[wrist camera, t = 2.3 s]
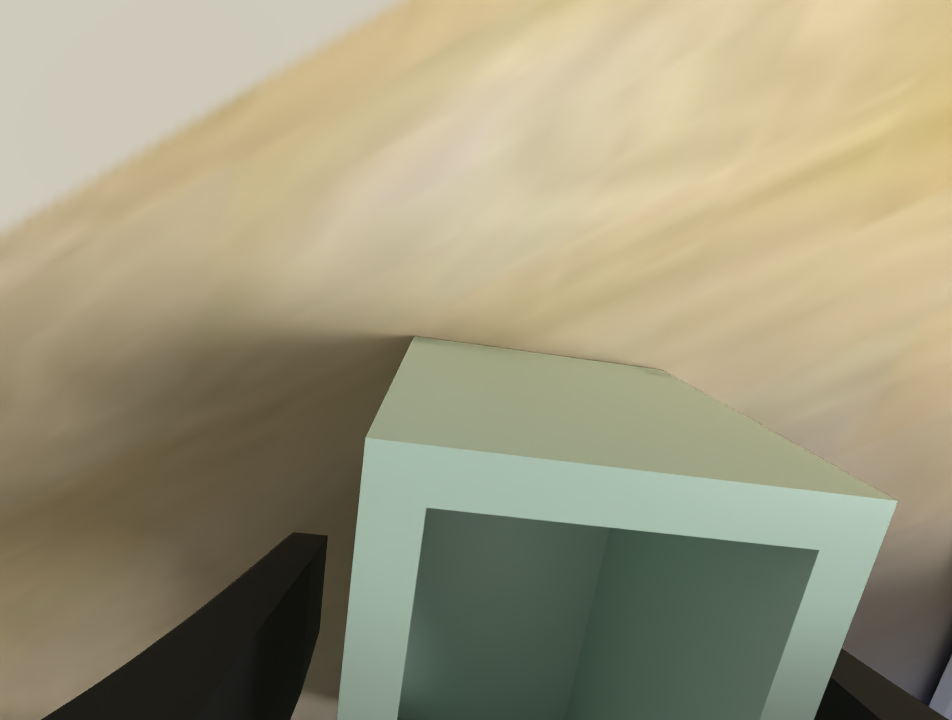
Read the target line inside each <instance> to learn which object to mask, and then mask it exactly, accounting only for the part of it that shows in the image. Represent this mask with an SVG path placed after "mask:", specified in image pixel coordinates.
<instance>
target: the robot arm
mask: <svg viewBox="0 0 952 720" xmlns="http://www.w3.org/2000/svg"><path fill="white" fill-rule="evenodd" d="M327 537H328V536H324V535H314V534H305V533H295V532H294V533H292V534H291V535H289V536H288V537H287V538H285V539H284V540H283V541H282V542H281V543H279V544H278V545H277V546H276V547H275V548H274V549H272V550H271V551H270V552H269V553H268V554H267V555H265V556H264V557H263V558H262V559H261V560H259V561H258V562H257V563H256V564H255V565H254V566H252V567H251V568H250V569H249V570H248V571H246V572H245V573H244V574H243V575H242V576H240V577H239V578H238V579H237V580H236V581H234V582H233V583H232V584H231V585H229V586H228V587H227V588H226V589H224V590H223V591H222V592H221V593H219V594H218V595H217V596H216V597H214V598H213V599H212V600H211V601H209V602H208V603H207V604H206V605H204V606H203V607H202V608H201V609H199V610H198V611H197V612H196V613H194V614H193V615H192V616H190V617H189V618H188V619H186V620H185V621H184V622H182V623H181V624H180V625H178V626H177V627H176V628H174V629H173V630H172V631H170V632H169V633H167V634H166V635H165V636H163V637H162V638H161V639H159V640H158V641H157V642H155V643H154V644H152V645H151V646H150V647H148V648H147V649H146V650H144V651H143V652H142V653H140V654H139V655H137V656H136V657H135V658H133V659H132V660H131V661H129V662H128V663H126V664H125V665H123V666H122V667H121V668H119V669H118V670H116V671H115V672H113V673H112V674H110V675H109V676H107V677H106V678H105V679H103V680H102V681H100V682H99V683H97V684H96V685H94V686H93V687H91V688H90V689H88V690H87V691H85V692H84V693H82V694H81V695H79V696H77V697H76V698H74V699H73V700H71V701H70V702H68V703H67V704H65V705H63V706H62V707H60V708H59V709H57V710H56V711H54V712H52V713H51V714H49V715H48V716H46V717H45V718H43V719H41V720H290V719H291V716H292V714H293V711H294V709H295V706H296V704H297V701H298V699H299V696H300V694H301V691H302V687H303V684H304V681H305V678H306V674H307V671H308V668H309V664H310V661H311V658H312V654H313V651H314V647H315V644H316V640H317V637H318V634H319V629H320V618H321V606H322V595H323V583H324V572H325V560H326V549H327ZM814 720H952V655H951V658H950V660H949V662H948V664H947V666H946V669H945V671H944V673H943V675H942V678H941V680H940V682H939V684H938V686H937V689H936V691H935V693H934V695H933V698H932V700H931V702H930V704H929V706H927V705H925V704H924V703H922V702H921V701H919V700H918V699H916V698H914V697H913V696H911V695H910V694H908V693H907V692H905V691H904V690H902V689H901V688H899V687H898V686H896V685H895V684H893V683H892V682H890V681H889V680H887V679H886V678H884V677H883V676H881V675H880V674H878V673H877V672H875V671H874V670H872V669H871V668H869V667H868V666H867V665H865V664H864V663H862V662H861V661H859V660H858V659H856V658H855V657H853V656H852V655H850V654H849V653H847V652H846V651H845V650H843V649H842V648H841V650H840V653H839V655H838V658H837V661H836V663H835V666H834V668H833V671H832V674H831V676H830V679H829V681H828V684H827V687H826V689H825V692H824V694H823V697H822V699H821V702H820V705H819V707H818V710H817V712H816V715H815V718H814Z"/></svg>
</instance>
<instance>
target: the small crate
mask: <svg viewBox="0 0 952 720" xmlns="http://www.w3.org/2000/svg"><path fill="white" fill-rule="evenodd" d="M897 503H898V501H897V500H895V499H894V498H892V497H890V496H888V495H886V494H885V493H883V492H881V491H879V490H877V489H876V488H874V487H872V486H870V485H868V484H867V483H865V482H863V481H861V480H860V479H858V478H856V477H854V476H852V475H851V474H849V473H847V472H845V471H843V470H842V469H840V468H838V467H836V466H834V465H833V464H831V463H829V462H827V461H825V460H824V459H822V458H820V457H818V456H816V455H815V454H813V453H811V452H809V451H807V450H806V449H804V448H802V447H800V446H799V445H797V444H795V443H793V442H791V441H790V440H788V439H786V438H784V437H782V436H781V435H779V434H777V433H775V432H773V431H772V430H770V429H768V428H766V427H764V426H763V425H761V424H759V423H757V422H755V421H754V420H752V419H750V418H748V417H746V416H745V415H743V414H741V413H739V412H737V411H736V410H734V409H732V408H730V407H729V406H727V405H725V404H723V403H721V402H720V401H718V400H716V399H714V398H712V397H711V396H709V395H707V394H705V393H703V392H702V391H700V390H698V389H696V388H694V387H693V386H691V385H689V384H687V383H685V382H684V381H682V380H680V379H678V378H676V377H675V376H673V375H671V374H669V373H668V372H666V371H664V370H659V369H652V368H644V367H637V366H630V365H622V364H615V363H608V362H601V361H593V360H586V359H579V358H571V357H564V356H557V355H550V354H542V353H535V352H528V351H520V350H513V349H506V348H499V347H491V346H484V345H477V344H469V343H462V342H455V341H448V340H440V339H433V338H426V337H418V336H414V338H413V340H412V342H411V344H410V346H409V348H408V350H407V352H406V354H405V356H404V358H403V361H402V363H401V365H400V367H399V369H398V371H397V373H396V375H395V377H394V379H393V381H392V383H391V386H390V388H389V390H388V392H387V394H386V396H385V398H384V400H383V402H382V404H381V406H380V408H379V411H378V413H377V415H376V417H375V419H374V421H373V423H372V425H371V427H370V429H369V431H368V433H367V436H366V438H365V447H364V457H363V467H362V476H361V486H360V496H359V506H358V516H357V525H356V535H355V545H354V555H353V565H352V574H351V584H350V594H349V604H348V613H347V623H346V633H345V643H344V653H343V662H342V672H341V682H340V692H339V702H338V711H337V720H814V718H815V715H816V712H817V710H818V707H819V705H820V702H821V699H822V697H823V694H824V692H825V689H826V687H827V684H828V681H829V679H830V676H831V674H832V671H833V668H834V666H835V663H836V661H837V658H838V655H839V653H840V650H841V648H842V645H843V643H844V640H845V637H846V635H847V632H848V630H849V627H850V624H851V622H852V619H853V617H854V614H855V611H856V609H857V606H858V604H859V601H860V599H861V596H862V593H863V591H864V588H865V586H866V583H867V580H868V578H869V575H870V573H871V570H872V567H873V565H874V562H875V560H876V557H877V555H878V552H879V549H880V547H881V544H882V542H883V539H884V536H885V534H886V531H887V529H888V526H889V523H890V521H891V518H892V516H893V513H894V511H895V508H896V505H897Z"/></svg>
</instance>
